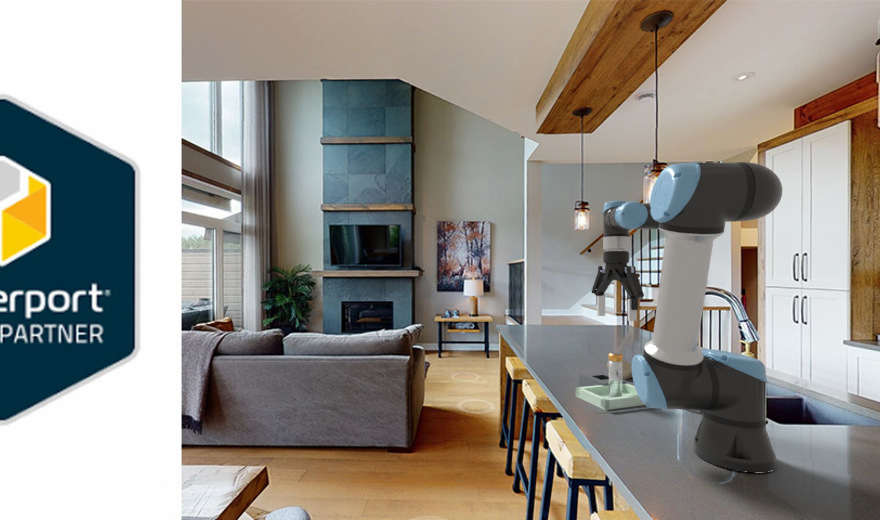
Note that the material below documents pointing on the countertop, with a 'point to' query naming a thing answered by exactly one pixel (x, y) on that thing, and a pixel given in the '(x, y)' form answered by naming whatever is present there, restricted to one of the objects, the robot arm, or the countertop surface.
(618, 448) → the countertop surface
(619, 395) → the clear bottle
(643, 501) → the countertop surface
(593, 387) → the tray
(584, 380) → the hitch block
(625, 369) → the stone
